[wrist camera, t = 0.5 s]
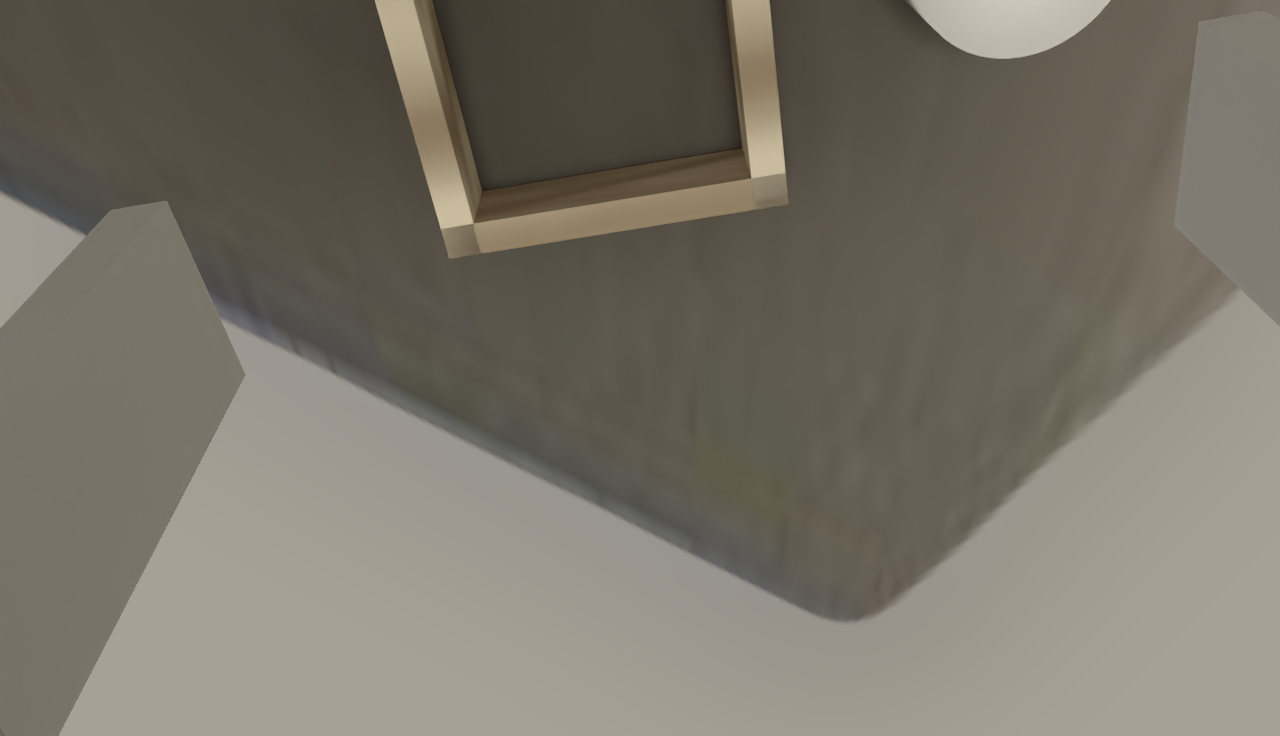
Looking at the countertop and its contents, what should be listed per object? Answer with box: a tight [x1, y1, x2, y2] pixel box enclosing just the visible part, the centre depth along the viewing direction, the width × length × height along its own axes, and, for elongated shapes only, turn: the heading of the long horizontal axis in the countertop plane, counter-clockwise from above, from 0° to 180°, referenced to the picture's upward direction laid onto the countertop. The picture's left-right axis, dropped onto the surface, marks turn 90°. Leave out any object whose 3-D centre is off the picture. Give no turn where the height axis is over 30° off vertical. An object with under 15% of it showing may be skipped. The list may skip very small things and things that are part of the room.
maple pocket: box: [375, 0, 788, 259], centre depth 36 cm, size 10×12×3 cm
